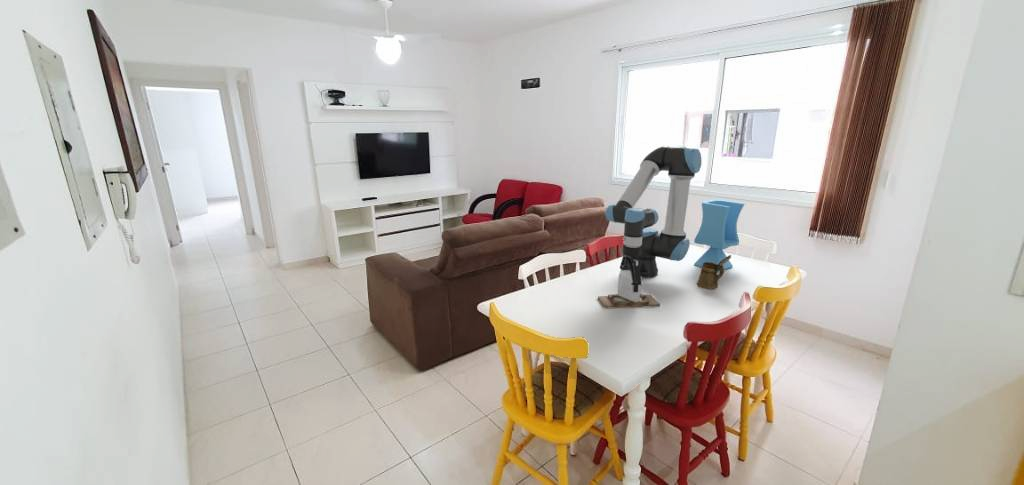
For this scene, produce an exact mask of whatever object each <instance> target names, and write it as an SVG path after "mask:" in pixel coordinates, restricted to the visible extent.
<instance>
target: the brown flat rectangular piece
mask: <svg viewBox="0 0 1024 485" xmlns="http://www.w3.org/2000/svg"><path fill="white" fill-rule="evenodd" d="M597 299H598V301H599V300H600V301H599V303H600V302H601V303H602V304H601V303H600V304H601V305H603V306H604V307H621V308H642V306H651V307H660V306H661V304H660V303H659V301H657V300H656V298H655V297H654V296H653V295H651V294H644V293H640V300H639V301H638V302H633V301H630V300H628V299H626V298H623V297H621V296H619V295H618V294H608V295H599V296H597ZM603 306H602V307H603ZM604 307H603V308H604Z"/></svg>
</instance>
